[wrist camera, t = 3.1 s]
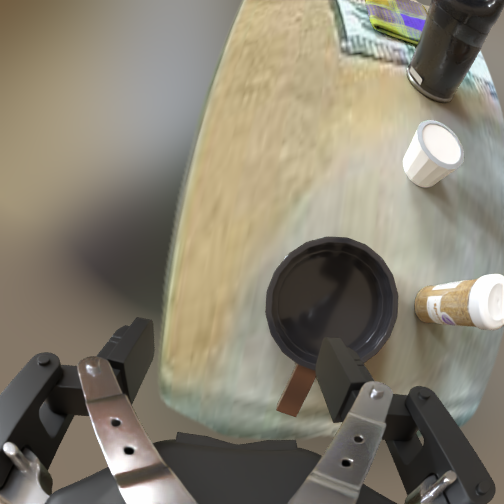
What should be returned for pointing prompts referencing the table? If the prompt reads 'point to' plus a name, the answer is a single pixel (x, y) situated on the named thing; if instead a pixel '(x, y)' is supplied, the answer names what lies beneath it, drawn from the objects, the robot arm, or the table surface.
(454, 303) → the sprinkles bottle
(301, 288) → the pan
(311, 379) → the pan handle
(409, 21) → the dish towel
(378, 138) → the table surface
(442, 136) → the white cup
